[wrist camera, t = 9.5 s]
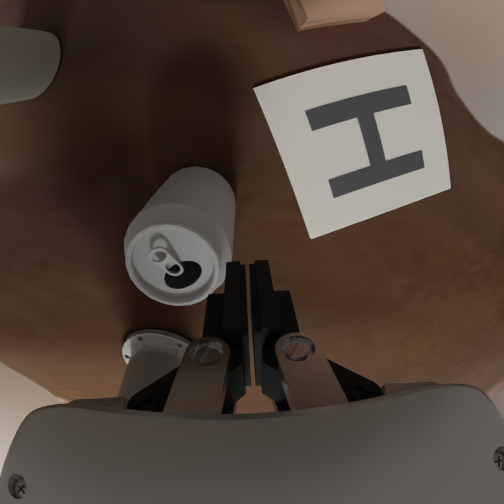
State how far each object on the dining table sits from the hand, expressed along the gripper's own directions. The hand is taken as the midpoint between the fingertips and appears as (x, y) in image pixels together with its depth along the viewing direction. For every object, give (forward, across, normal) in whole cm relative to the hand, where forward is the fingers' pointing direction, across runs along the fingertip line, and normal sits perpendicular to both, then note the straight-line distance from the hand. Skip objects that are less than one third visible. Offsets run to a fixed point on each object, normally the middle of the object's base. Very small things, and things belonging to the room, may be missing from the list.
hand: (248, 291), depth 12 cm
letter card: (+16, -12, -5) cm, 21 cm away
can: (+17, +4, +1) cm, 18 cm away
